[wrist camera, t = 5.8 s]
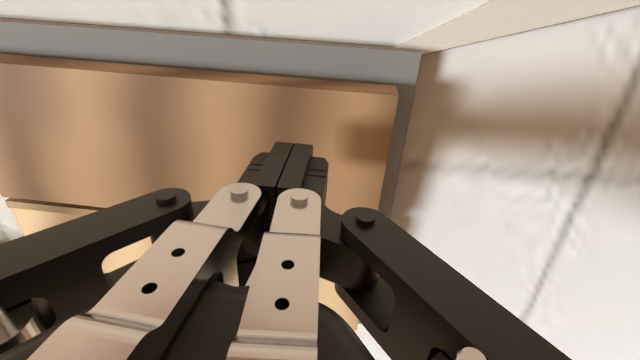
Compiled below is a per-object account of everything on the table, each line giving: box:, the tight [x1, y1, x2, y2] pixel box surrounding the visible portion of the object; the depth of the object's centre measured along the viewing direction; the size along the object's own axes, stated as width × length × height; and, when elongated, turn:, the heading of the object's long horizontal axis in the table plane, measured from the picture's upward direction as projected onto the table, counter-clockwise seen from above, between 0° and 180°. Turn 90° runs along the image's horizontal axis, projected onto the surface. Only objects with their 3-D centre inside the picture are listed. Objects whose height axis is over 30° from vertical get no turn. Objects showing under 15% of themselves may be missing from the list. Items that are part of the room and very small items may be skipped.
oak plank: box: [5, 198, 358, 330], centre depth 22 cm, size 22×8×2 cm, turn 87°
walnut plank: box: [0, 54, 399, 215], centre depth 17 cm, size 22×8×2 cm, turn 87°
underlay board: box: [0, 18, 422, 324], centre depth 21 cm, size 24×19×1 cm
